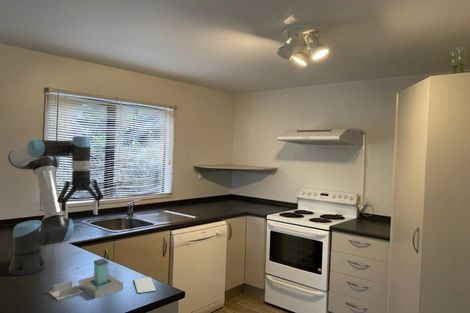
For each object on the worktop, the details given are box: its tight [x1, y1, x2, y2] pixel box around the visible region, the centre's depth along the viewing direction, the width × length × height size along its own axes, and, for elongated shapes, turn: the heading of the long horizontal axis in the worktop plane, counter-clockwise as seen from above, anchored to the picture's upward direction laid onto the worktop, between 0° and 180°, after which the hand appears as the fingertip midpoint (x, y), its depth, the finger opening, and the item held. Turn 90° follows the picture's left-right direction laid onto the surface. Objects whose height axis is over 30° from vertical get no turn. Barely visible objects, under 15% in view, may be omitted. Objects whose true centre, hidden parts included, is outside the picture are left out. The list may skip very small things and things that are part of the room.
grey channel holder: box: [48, 280, 84, 301], centre depth 142 cm, size 10×10×3 cm
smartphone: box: [133, 276, 157, 295], centre depth 151 cm, size 8×1×16 cm
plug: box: [93, 258, 109, 285], centre depth 147 cm, size 4×4×12 cm
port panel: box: [78, 273, 124, 299], centre depth 147 cm, size 16×12×3 cm
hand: (80, 216), depth 158 cm, fingers open, 13 cm apart
